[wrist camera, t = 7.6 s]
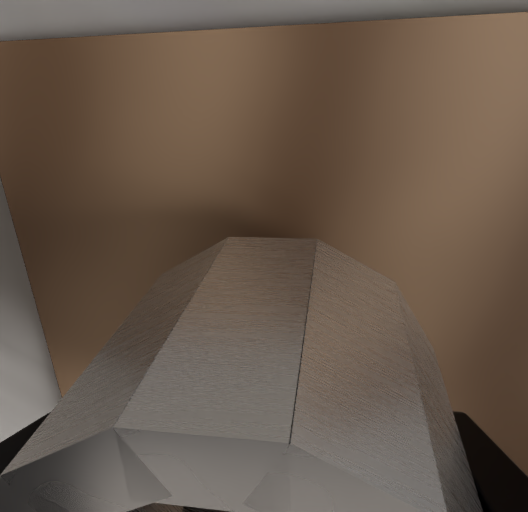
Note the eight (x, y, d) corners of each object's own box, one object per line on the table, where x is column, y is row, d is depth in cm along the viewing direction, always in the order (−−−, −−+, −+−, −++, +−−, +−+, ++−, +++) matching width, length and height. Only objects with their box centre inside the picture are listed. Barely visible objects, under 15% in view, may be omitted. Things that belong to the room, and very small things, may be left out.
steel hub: (447, 241, 8) (572, 467, 4) (415, 490, 11) (467, 803, 6) (115, 234, 9) (-97, 409, 5) (158, 465, 12) (46, 719, 7)
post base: (641, 8, 9) (1018, -44, 4) (513, 508, 15) (603, 746, 10) (-7, 44, 11) (-288, 39, 6) (101, 466, 17) (0, 642, 12)
